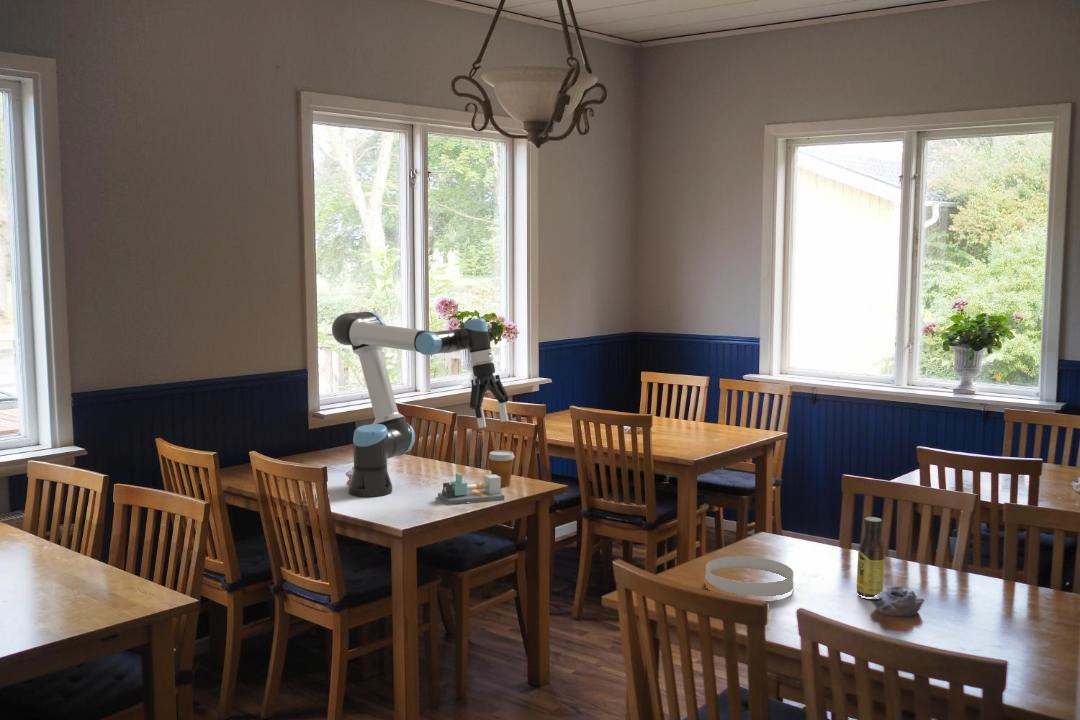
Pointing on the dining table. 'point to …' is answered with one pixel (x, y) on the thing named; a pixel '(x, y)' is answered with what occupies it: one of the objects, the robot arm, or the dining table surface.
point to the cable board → (474, 491)
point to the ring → (748, 587)
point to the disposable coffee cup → (502, 465)
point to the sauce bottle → (871, 559)
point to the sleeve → (459, 485)
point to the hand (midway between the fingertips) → (493, 424)
